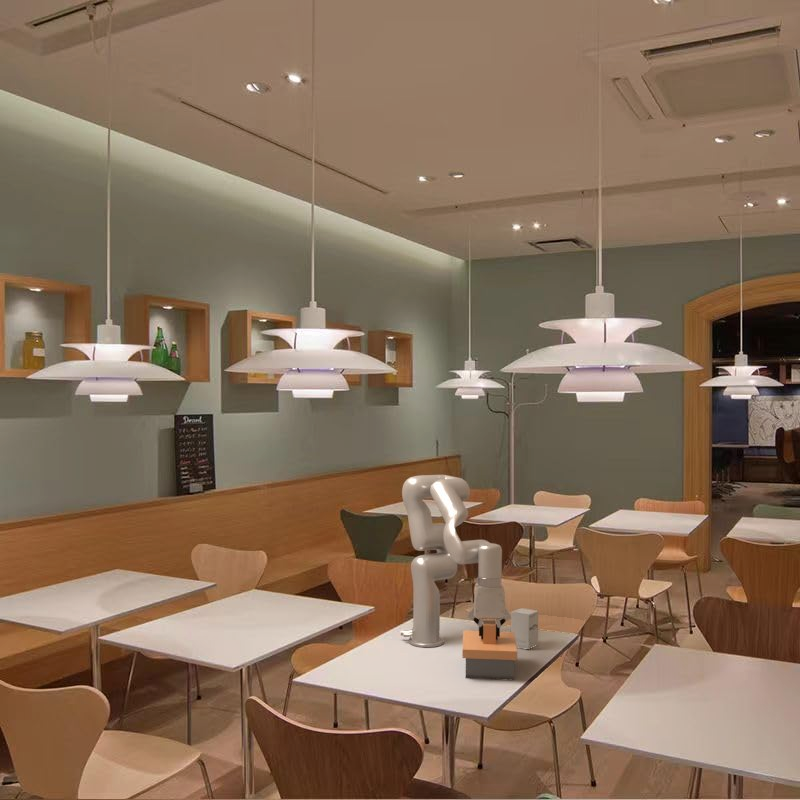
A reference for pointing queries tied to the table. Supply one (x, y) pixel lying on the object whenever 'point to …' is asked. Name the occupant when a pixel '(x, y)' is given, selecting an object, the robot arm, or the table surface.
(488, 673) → the tub
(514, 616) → the supplement box
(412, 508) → the robot arm
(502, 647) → the lid
